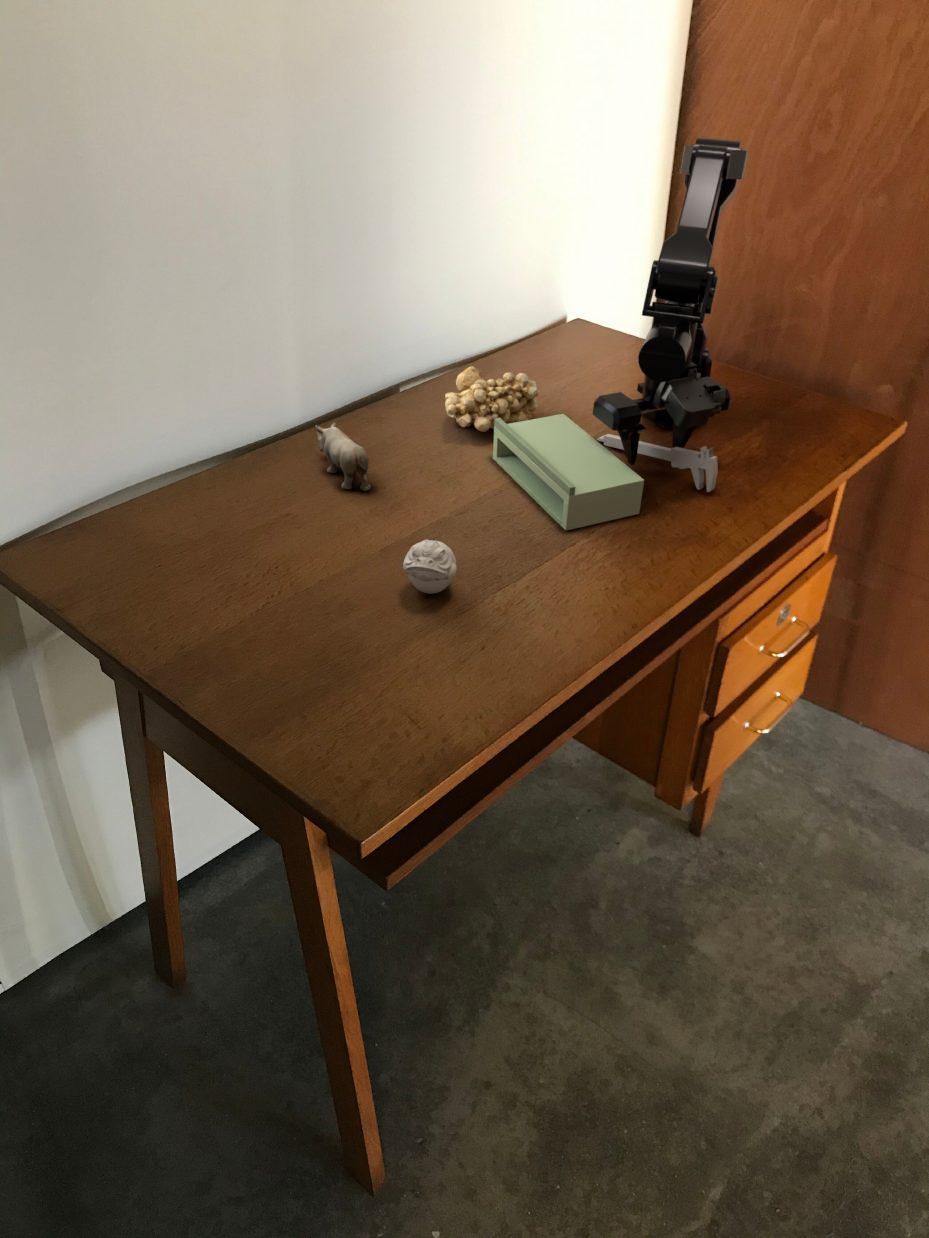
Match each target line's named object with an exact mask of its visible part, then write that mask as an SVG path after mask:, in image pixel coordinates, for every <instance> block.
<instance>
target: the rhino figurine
mask: <svg viewBox="0 0 929 1238" xmlns="http://www.w3.org/2000/svg"><path fill="white" fill-rule="evenodd" d="M315 431H316V435H317V439H318V449H319V451H320V452H321V453H324V454H325V457H326V459H327V461H328V463H329V466H328V467H327V469H326V472H327V473H330V474H334V473H337V472H338V468H340V469H341V471H342V472H343V474H344V481H342V483H341V486H340V487H341V489H342V490H351V489H352V488H353V484H352V482H353V479H354V473H355V472H356V470H357V472H358V474H359V477H360V481H361V484H360V485H359V489H360V490H361V491H363V492H367V491H369V490H371V484H370V483H369V477H368V470H369V463H370V462H369V461H370V460H369V456H368V454H367V452H366V449H364V448H363V447H362V446H361V445H359V444H357V443H356V442H354V440H352V439H351V438H350V437H349V436H348V435H347V434H346V433H344V432H343V431H342V430H341V429H339V428H338V427H337V423H336V422H332V423H331V425H330V427H328V428H322V427H320V426H318V425H317V424H315Z"/></svg>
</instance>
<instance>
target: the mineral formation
mask: <svg viewBox="0 0 929 1238" xmlns="http://www.w3.org/2000/svg"><path fill="white" fill-rule="evenodd" d="M482 373H483V372H482V371H481V370H479V369H477V368H476V367H475V366H473V365H471V366H469V367H467V368H465V369H464V370H463V371H462V372H460V373H458V375H457V378H456V380H455V387H456V388H457V390H458V393H457V392H453V391H451V392H446V393H445V395H444V398H445V399H444V400H445V402H444V407H445V411H446V413H447V415H448V417H451V418H452V419H455V421H456V423H457V425H458V426H460V427H462V428H466V427H467V428H470V427H471V426H472V424H473V426H474V428H475V429H476V430H478V431H479V432H483V433H485V432H487V431H489V430H490V429H491V430H494V422H495V418H501V419H502V420H503V421H504V422H505V423H506V424H510V423H515V422H521V421H526V420H531V419H532V413H534V412H536V411H537V410H538V408H539V406H540V405H539V403H538V400H536V398H535V397H539V391H538V388H537V382H536V381H534V380H531V379H529V376H528V375H527V374H526V373H525V372H519V373H517V374H516V375H514V373H513V372H505V373H503V376H502V378H500V377H498V378H497V379H496V380H494V379H493V378H489V379H488V380H485V379H483V378H481V376H482Z"/></svg>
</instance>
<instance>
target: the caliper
mask: <svg viewBox="0 0 929 1238" xmlns="http://www.w3.org/2000/svg"><path fill="white" fill-rule="evenodd" d="M596 441H599V442H603V446H606V447H609V448H616V449H619V450H623V451H624V448H623V445H622V442H621V439H620V436H619V435H616V434H611V433H606V434H604V435H601V436H599V437H597V438H596ZM637 454H638V455H639V454H640V455H644V456H648V457H652V458H656V459H659V460H664V461H667V462H671V463H670V465H671V466H670V467H672V468H677V469H679V470H685V469H690V471H691V475H692V478H693V481H694V485H695V488H696V489H697V490H698V491H700V490H702V489H704V481H705V482H706V485H705V486H706V493H710V492H712V491H714V490H715V488H716V482H717V477H718V473H719V466H718V464H719V463H718V456H717V455H714V447H711V448H709V449H708V447H707V446H706V445H704V446H702V447H700V451H698V450H694V449H689V448H685V447H684V448H680V447H674V448H672V447H671V448H670V447H667V446H662V445H659V444H654V443H650V442H645V441H642V440H639V445H638V452H637ZM704 470H705V478H704ZM704 479H705V480H704Z"/></svg>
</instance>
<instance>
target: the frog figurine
mask: <svg viewBox="0 0 929 1238" xmlns="http://www.w3.org/2000/svg"><path fill="white" fill-rule="evenodd" d="M402 569H403V571H404V573H405V574H407V579H408V581H409V582H410V583H411V584H412V585H413V586H414V588H416V589H417V591H419V592H422V593H424V594H430V595H433V594H438V593H440V592H442V591H443V590H445V589H446V588H447V587H448V586H449V585H450V584H451V581H452V579H454V577H455V576H456V574H457V569H458V566H457V559H456V556H455V554H454V552H453V551H452V549H451V548H450V547H449V546H448V545H446V544H445V543H444V542H442V541H440V540H439V541H438V540H435V539H433V540H430V539H423V540H422V541H419V542H417V543H415V544H413V545H412V546H411V547H410V548H409V550H408V552H407V553H406V555H405V558H404V560H403V563H402Z"/></svg>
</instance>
